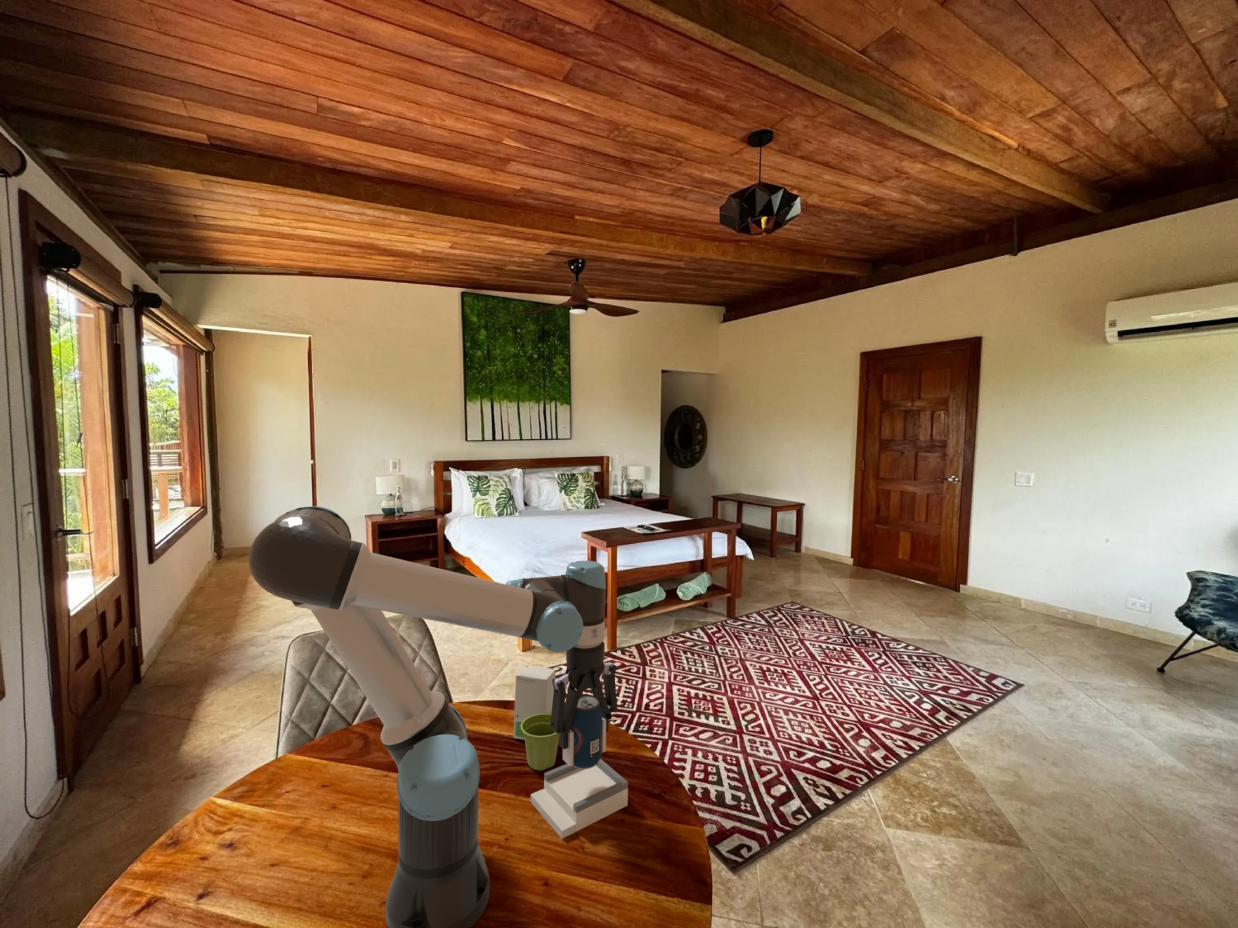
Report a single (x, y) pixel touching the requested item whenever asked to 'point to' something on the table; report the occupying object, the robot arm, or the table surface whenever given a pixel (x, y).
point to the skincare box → (532, 694)
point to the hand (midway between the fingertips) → (584, 754)
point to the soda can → (587, 732)
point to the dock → (579, 796)
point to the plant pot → (540, 741)
